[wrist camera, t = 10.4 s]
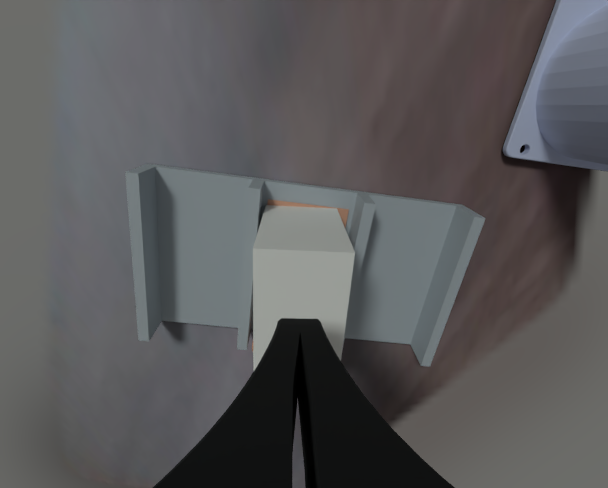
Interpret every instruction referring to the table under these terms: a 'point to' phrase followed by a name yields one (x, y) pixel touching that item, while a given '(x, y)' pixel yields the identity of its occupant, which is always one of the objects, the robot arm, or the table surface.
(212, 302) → the rack
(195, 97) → the table surface
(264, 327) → the off-white matte box
